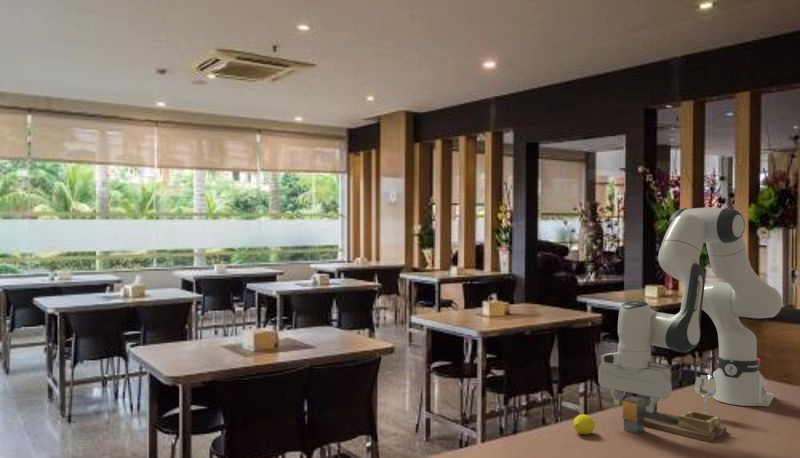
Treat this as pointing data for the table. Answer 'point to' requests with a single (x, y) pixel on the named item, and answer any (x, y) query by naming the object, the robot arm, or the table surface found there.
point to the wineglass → (705, 387)
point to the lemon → (583, 424)
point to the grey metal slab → (633, 414)
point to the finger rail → (684, 423)
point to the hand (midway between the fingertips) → (633, 408)
